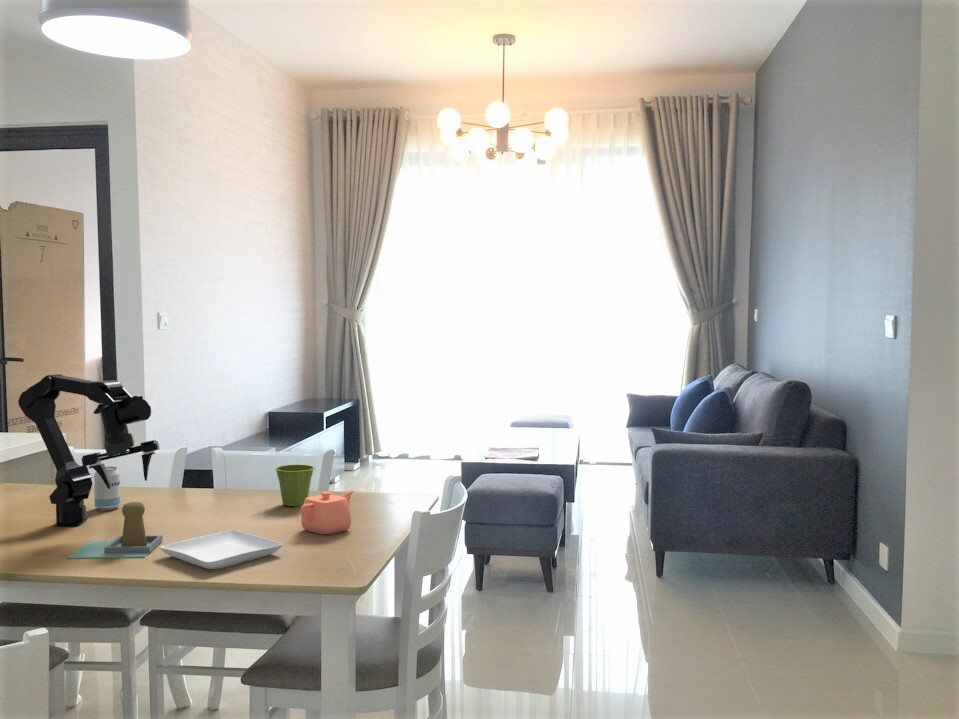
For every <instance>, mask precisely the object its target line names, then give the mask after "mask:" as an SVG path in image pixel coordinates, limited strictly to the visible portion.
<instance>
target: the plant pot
mask: <svg viewBox="0 0 959 719" xmlns="http://www.w3.org/2000/svg"><path fill="white" fill-rule="evenodd" d="M315 469H316V467H315V466H313V465H311V464H285V465H278V466H276V467H274V470H275V471H276V474H277V479H278V484H279V488H280V489H279V490H280V496H281V501H282V505H283V506H284V505H285V506H287V507H290V506H294V507H296V506H298V507H301V506H302V505H304V501H305V498H307V497H309V495H310V488H311V482H312V477H313V474H314V473H313V472H314V470H315Z"/></svg>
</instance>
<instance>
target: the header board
mask: <svg viewBox="0 0 959 719" xmlns="http://www.w3.org/2000/svg"><path fill="white" fill-rule="evenodd" d="M163 537H164V536H163V535H162V534H161V535H157V534H156V535H153V534H151V535H149V534H146V540H147V546H129V547H121V544H122V535H119V536H118V537H117V538H115V539H114V540H88V541H87V542H86V543H85V544H83V545H82V546H80V547H79V548H78V549H76V550H74V551H73V552H72V553H71V554H70V555H68V556H67V557H66V559H117V558H121V559H122V558H123V559H125V558H127V559H128V558H129V559H130V558H135V559H137V558H146V557H147V556H148V555H149V554H150V553H151V552H153V551H154V549H156V547H158V546H159V545H160V544H161V543H162V542H163Z"/></svg>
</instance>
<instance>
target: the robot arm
mask: <svg viewBox="0 0 959 719" xmlns="http://www.w3.org/2000/svg"><path fill="white" fill-rule="evenodd" d="M61 392H63V393H64V392H65V393H69V394H70V393H71V394H74V395H80V396H84V397H86V398H88V400H89V401H91V402H94V403H97V406H96V408H95V409H94V411H93V414H94V415H98V414H99V415H101V416H100V417H101V422H102V426H103V431H104V435H105V442H104V448H105V453H101V452H99V451H98V452H93V453H89V454H86V455H83V456H82V457H81V465H80V464H78V463H77V461H76V460H75V459H74V456H73V454H72V452H71V450H70V447H69V445H68V443H67V442H66V439H65V436H64V434H63V432H62V431H61V430H62V429H61V428H60V425H59V423H58V421H57V419H56V416H55V415H56V408H57V405H56V402H55V401H56V399H58V398H59V396H60V394H61ZM143 398H144V397H143V394H138V395H134V396H132V395H131V394H130V393H129V392H128V390H126V388H124V387H123V385H122V382H121V381H119V380H115V379H112V380H111V379H109V380H95V381H94V380H88V379H84V378H78V377H72V376H67V375H63V374H61V373H57V374H47V375H45V376H44V377H43V378H41V380H40V381H38V382H37V383H35V384H33V385H32V386H30V387H28V388H27V389H26V390H25V391H23V392H21V393H20V396H19V398H18V401H17V402H18V407H19V408H20V409H21V411H22V413H23V414H24V416H25V417H26V418H27V419H29V420H30V421H31V422H33V424H34V423H35V425H36V427H37V430H38V432H39V434H40V436H41V438H42V441H43V443H44V446H45V447H46V449H47V452H48V454H49V456H50V459H51V461H52V462H53V465H54V467H55V469H56V474H55V478H54V480H55V481H54V482H55V486H56V488H55V489H54V490H53V492H51V494H50V495H49V496H48V497H49V500H50V504H52V505H55V517H56V520H55V522H54V524H53V526H54V527H70V526H71V527H76V526H80V525H82V524H83V523H84V522H87V521H88V520H87V519H88V518H87V506H86V505H85V502H84V500H88V499H89V497H90V493H91V490H92V486H94V483H93V481H92V479H93V476H92V475H91V473H90V472H89V469H94V471H95V472H96V471H97V473H98V474H99V475H100V476H101V478H102V479H103V481H104V483H105V484H106V486H107V487H108V489H111V487H110V482H109V479H108V475H107V472H106V469H105V467H106V466H105V463H102V461H105V460H110V459H115V458H119V457H125V456H128V455H134V454H137V453H141V452H142V453H143V454H141V461H142V468H143V469H142V470H143V477H144V481H146V482H147V481H148V475H149V468H150V464H151V459H152V455H155V454H156V451H159V450H160V444H159V441H158V440H157V439H153V440H152V439H151V440H149V441H145V442H140V445H136V446H135V441H134V437H133V434H132V433H131V432H130V433H129V428H128V425H130V424H134V423H135V424H136V423H140V422H142V421H143V422H144V421H147V420H149V419H150V417H151V415H152V408H151V407H152V406H151V405H150V404H149V403H148V401H147V400H145V399H143Z"/></svg>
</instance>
